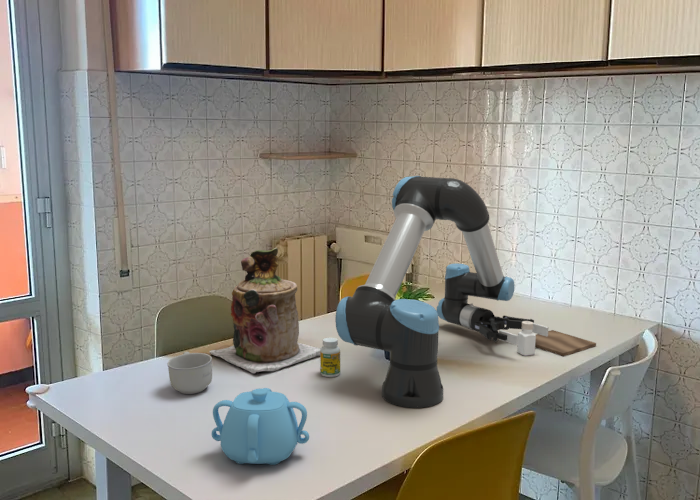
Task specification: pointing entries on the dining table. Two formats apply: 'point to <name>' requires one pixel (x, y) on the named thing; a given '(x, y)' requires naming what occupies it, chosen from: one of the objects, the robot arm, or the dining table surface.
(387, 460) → the dining table surface
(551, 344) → the board
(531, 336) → the pepper shaker
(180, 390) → the teacup
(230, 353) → the cookie jar
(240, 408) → the decorative pot
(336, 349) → the supplement bottle
